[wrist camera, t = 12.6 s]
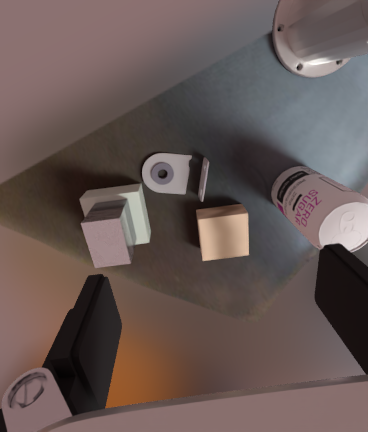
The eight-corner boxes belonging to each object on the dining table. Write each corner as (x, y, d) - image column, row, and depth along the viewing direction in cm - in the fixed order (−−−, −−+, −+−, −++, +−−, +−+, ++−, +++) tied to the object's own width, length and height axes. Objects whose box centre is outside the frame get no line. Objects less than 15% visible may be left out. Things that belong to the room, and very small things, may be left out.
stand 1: (141, 183, 43) (138, 191, 39) (150, 231, 46) (149, 242, 43) (87, 190, 43) (79, 199, 39) (101, 237, 47) (95, 249, 43)
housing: (136, 238, 42) (130, 263, 36) (106, 242, 42) (95, 267, 36) (127, 198, 39) (119, 218, 33) (95, 202, 39) (80, 223, 33)
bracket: (143, 150, 41) (141, 154, 38) (206, 156, 42) (209, 161, 39) (141, 189, 44) (139, 196, 40) (200, 194, 45) (203, 202, 41)
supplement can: (317, 205, 46) (378, 251, 32) (270, 214, 46) (312, 263, 33) (318, 160, 43) (388, 190, 29) (268, 170, 43) (314, 205, 29)
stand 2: (241, 203, 45) (248, 213, 41) (242, 243, 48) (248, 255, 45) (196, 209, 45) (198, 219, 42) (200, 248, 49) (202, 260, 45)
